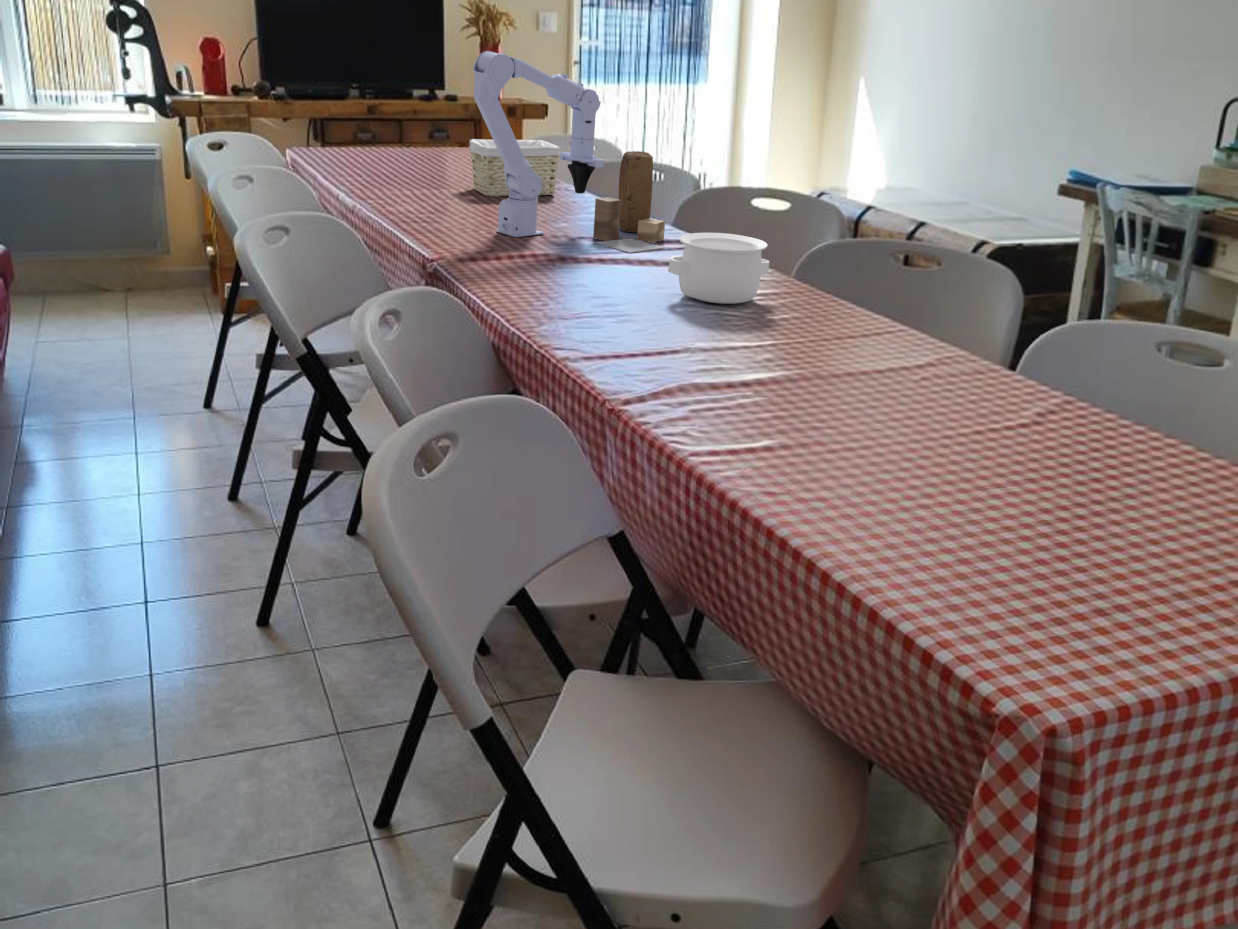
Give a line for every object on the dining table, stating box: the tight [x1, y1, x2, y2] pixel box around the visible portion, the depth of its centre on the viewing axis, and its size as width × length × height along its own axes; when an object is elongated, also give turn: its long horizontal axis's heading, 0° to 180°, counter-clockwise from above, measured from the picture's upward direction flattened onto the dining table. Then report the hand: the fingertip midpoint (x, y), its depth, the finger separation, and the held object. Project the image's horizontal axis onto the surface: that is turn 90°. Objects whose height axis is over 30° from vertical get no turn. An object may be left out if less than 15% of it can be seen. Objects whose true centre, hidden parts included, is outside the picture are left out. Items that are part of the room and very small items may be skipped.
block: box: [618, 150, 654, 234], centre depth 300 cm, size 11×8×20 cm
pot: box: [667, 232, 770, 305], centre depth 238 cm, size 22×17×12 cm
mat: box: [596, 237, 665, 254], centre depth 284 cm, size 12×12×1 cm
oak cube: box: [636, 217, 666, 243], centre depth 292 cm, size 5×5×5 cm
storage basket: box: [469, 138, 561, 198], centre depth 343 cm, size 24×16×15 cm
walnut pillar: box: [592, 196, 621, 242], centre depth 288 cm, size 4×4×10 cm
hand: (579, 192), depth 293 cm, fingers closed
